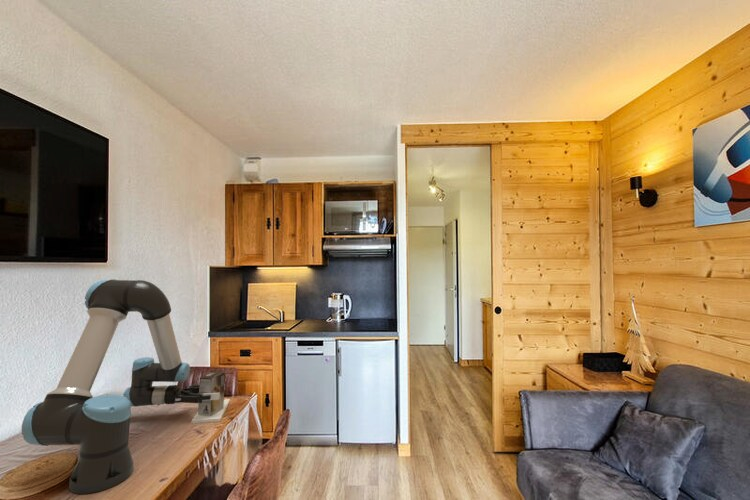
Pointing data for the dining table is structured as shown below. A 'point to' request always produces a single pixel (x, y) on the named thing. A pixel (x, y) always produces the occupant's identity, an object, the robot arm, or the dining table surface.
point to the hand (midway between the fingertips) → (222, 391)
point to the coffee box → (211, 385)
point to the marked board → (212, 418)
